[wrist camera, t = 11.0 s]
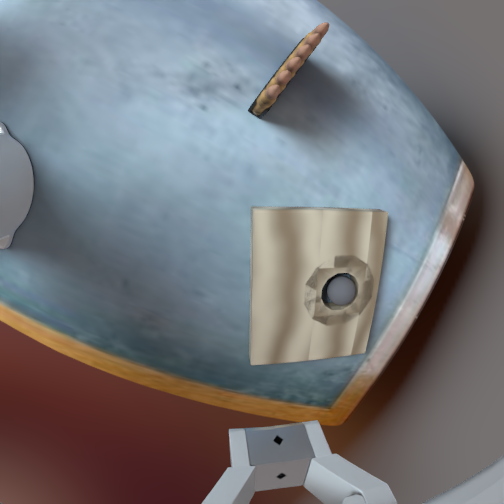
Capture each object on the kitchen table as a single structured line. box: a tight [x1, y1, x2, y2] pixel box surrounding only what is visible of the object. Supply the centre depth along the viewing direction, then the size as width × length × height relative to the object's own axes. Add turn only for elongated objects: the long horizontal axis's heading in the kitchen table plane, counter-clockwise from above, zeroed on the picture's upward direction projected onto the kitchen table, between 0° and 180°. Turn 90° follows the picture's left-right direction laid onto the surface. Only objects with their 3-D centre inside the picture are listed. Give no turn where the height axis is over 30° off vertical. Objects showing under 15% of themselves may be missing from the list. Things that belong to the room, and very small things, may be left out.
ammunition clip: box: [248, 23, 329, 119], centre depth 28 cm, size 11×2×12 cm, turn 146°
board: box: [249, 207, 388, 365], centre depth 41 cm, size 18×22×2 cm
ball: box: [327, 276, 356, 305], centre depth 41 cm, size 4×4×4 cm
